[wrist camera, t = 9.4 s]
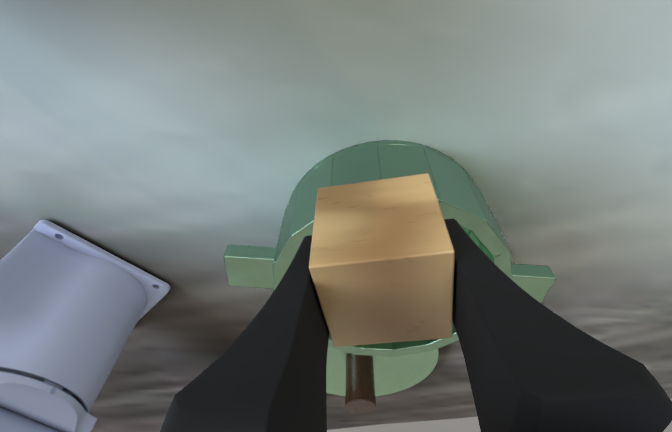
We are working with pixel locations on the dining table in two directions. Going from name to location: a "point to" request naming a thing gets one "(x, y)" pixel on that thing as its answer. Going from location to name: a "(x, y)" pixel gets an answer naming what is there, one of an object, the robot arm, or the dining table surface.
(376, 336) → the cube
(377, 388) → the lid
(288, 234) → the pot
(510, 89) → the dining table surface
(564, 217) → the dining table surface
